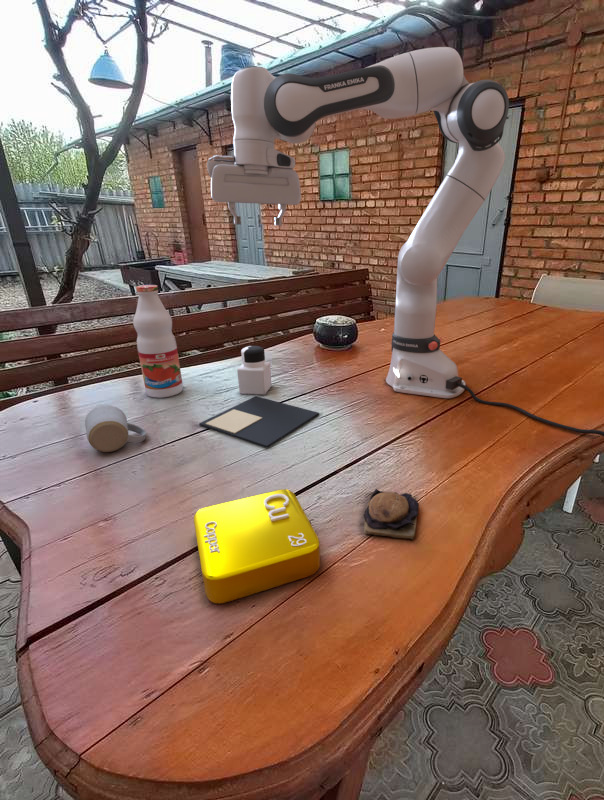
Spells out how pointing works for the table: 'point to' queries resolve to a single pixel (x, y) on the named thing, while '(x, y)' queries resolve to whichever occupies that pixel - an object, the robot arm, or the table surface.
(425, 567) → the table surface
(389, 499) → the brown layered stack
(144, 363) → the fruit juice
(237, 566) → the element tile
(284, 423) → the mat
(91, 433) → the ceramic mug
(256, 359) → the medicine bottle
